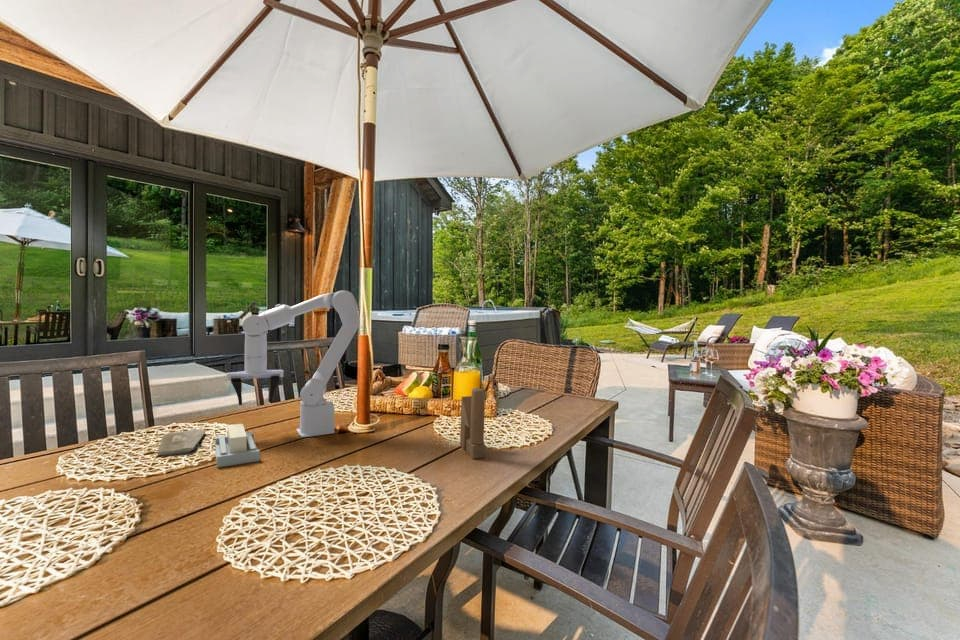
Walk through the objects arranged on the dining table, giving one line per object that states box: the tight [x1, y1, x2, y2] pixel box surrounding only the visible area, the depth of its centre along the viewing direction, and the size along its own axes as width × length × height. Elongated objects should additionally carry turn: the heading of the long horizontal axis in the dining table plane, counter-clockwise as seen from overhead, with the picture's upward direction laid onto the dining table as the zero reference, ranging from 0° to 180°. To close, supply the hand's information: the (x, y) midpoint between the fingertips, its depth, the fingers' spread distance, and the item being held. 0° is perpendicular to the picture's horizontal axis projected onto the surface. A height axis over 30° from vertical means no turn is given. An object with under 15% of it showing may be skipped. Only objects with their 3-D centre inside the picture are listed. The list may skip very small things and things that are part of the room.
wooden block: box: [459, 387, 487, 460], centre depth 117 cm, size 4×11×18 cm, turn 21°
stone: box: [156, 429, 207, 456], centre depth 116 cm, size 18×3×10 cm
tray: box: [214, 432, 261, 468], centre depth 110 cm, size 9×16×3 cm, turn 33°
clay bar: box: [227, 423, 247, 454], centre depth 110 cm, size 12×4×5 cm, turn 33°
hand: (255, 403), depth 124 cm, fingers open, 7 cm apart
